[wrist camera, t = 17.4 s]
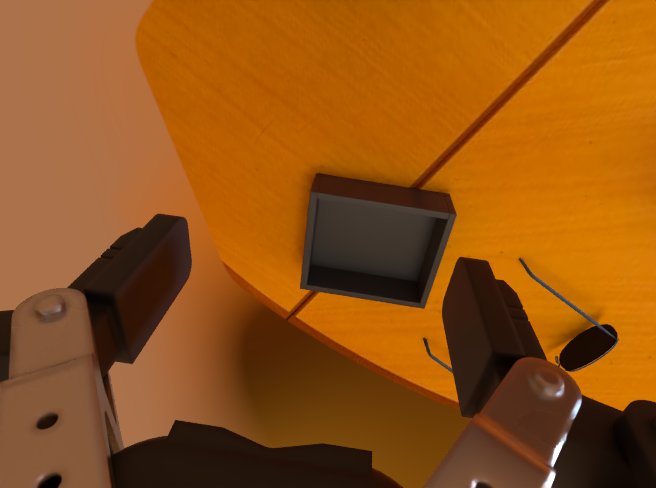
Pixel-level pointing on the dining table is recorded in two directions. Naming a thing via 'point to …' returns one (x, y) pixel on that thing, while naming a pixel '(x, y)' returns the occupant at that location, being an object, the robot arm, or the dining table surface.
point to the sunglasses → (579, 348)
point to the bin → (374, 240)
